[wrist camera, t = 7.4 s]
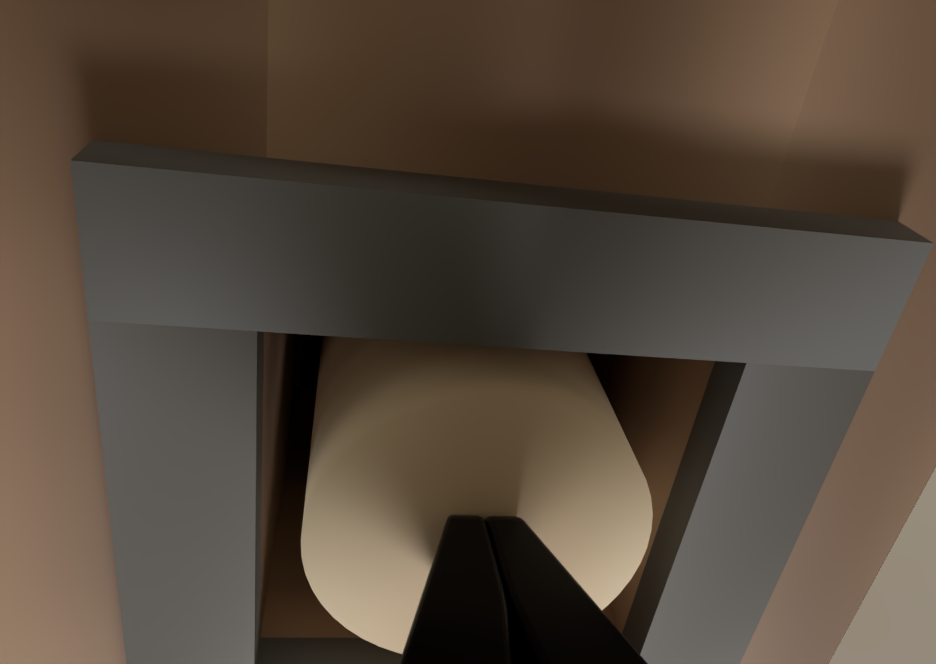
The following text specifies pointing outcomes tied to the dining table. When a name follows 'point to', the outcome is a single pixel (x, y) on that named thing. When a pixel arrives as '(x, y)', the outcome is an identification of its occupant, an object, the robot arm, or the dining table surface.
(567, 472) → the peg
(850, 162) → the walnut block
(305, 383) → the dining table surface
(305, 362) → the dining table surface
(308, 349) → the dining table surface
